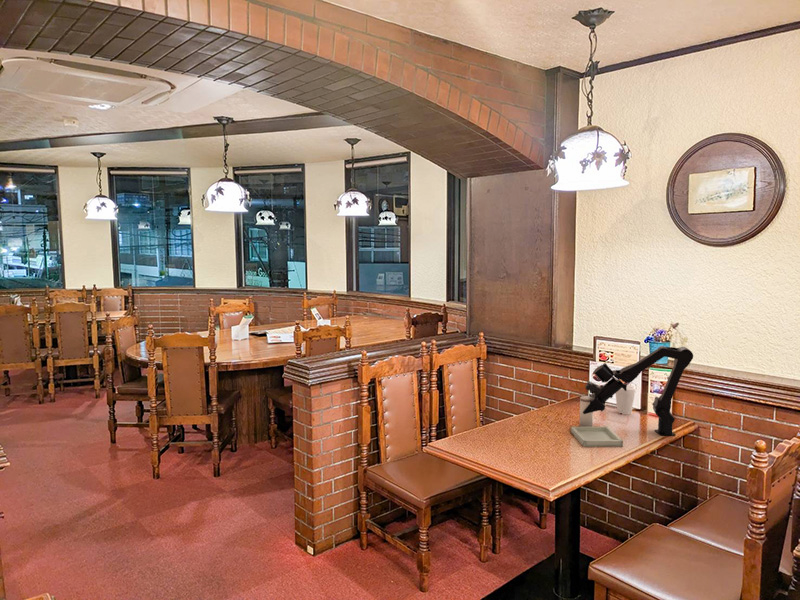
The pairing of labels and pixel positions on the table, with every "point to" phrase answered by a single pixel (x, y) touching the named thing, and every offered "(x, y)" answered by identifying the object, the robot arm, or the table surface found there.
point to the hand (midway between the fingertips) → (583, 411)
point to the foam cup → (625, 399)
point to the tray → (596, 437)
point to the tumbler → (587, 418)
